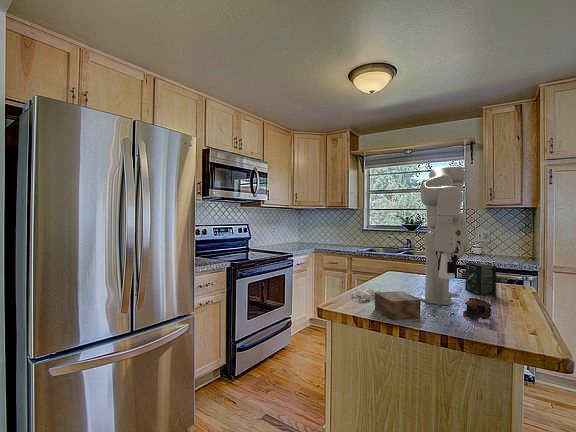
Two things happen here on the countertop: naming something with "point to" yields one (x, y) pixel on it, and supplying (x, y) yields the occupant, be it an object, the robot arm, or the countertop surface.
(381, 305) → the walnut box
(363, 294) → the tangled rod sculpture
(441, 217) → the robot arm
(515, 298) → the countertop surface
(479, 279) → the tampon box
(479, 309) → the dark brown rounded lump
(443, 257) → the pepper shaker
